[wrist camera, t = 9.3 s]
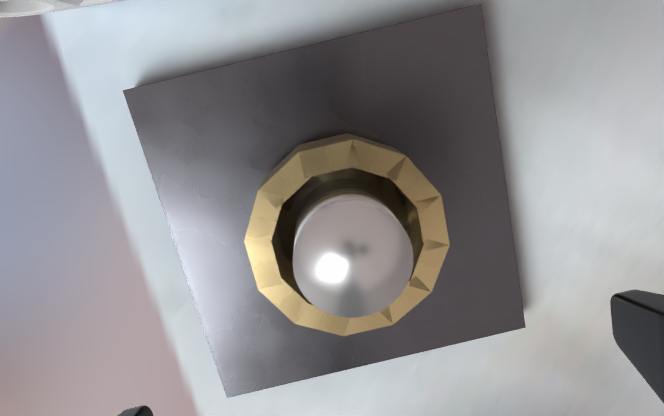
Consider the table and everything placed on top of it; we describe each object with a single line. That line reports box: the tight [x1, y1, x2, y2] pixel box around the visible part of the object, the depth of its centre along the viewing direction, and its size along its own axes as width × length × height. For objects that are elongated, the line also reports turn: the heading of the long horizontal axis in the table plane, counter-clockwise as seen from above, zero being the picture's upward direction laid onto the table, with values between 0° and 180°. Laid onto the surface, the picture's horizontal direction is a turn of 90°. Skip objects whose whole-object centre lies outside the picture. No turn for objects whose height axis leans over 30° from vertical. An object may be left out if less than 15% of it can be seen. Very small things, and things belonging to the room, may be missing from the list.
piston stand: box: [123, 4, 525, 398], centre depth 17 cm, size 14×14×6 cm
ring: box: [244, 133, 450, 336], centre depth 17 cm, size 7×7×2 cm
